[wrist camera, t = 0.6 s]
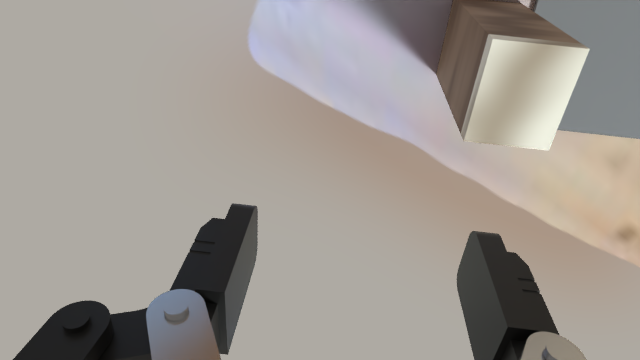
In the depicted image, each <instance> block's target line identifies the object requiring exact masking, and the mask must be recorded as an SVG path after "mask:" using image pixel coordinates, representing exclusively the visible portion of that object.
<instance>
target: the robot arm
mask: <svg viewBox="0 0 640 360" xmlns="http://www.w3.org/2000/svg"><path fill="white" fill-rule="evenodd" d="M257 213H258V212H257V206H251V205H242V204H232V205H231V207H230V209H229V211H228V214H227V216H226V218H225V219H218V218H212V219H211V220H210V221H209V222H207V223H206V224H205V225H204V226H202V227H201V228H200V230H199V232H198V234H197V236H196V239H195V242H194V243H193V245H192V247H191V249H190V252H189V253H188V255H187V257H186V259H185V261H184V263H183V265H182V267H181V269H180V271H179V273H178V275H177V277H176V279H175V281H174V283H173V285H172V287H171V289H170V291H168V292H165V293H163V294H161V295H160V296H158V297H157V298H155V299H154V300H153V301H152V302H151V303H150V305H149V307H148V308H145V309H142V310H137V311H132V312H124V313H118V314H111V315H110V313H109V310H108V309H107V307H106V306H105V305H103V304H101V303H99V302H96V301H80V302H76V303H72V304H69V305H67V306H65V307H63V308H61V309H60V310H58V311H57V312H56V313H54V314H53V315H52V316H51V317H50V318H49V319H48V321H47V322H46V323H45V324H44V325H43V326H42V328H41V329H40V330H39V331H38V332H37V333H36V334H35V335H34V336H33V337H32V339H31V340H30V341H29V342H28V343H27V344H26V345H25V347H24V348H23V349H22V350H21V351H20V352H19V353H18V354H17V356H16V357H15V358H14V359H13V360H221V358H220V354H228V352H229V349H230V346H231V342H232V339H233V335H234V332H235V329H236V326H237V322H238V319H239V315H240V312H241V309H242V305H243V302H244V299H245V295H246V292H247V288H248V285H249V282H250V278H251V275H252V272H253V268H254V265H255V261H256V255H257V220H258V219H257V217H258V216H257ZM457 288H458V293H459V297H460V302H461V306H462V310H463V314H464V318H465V322H466V326H467V331H468V335H469V339H470V343H471V347H472V351H473V356H474V359H475V360H586V358H585V356H584V354H583V353H582V352H581V351H580V349H579V348H578V347H576V346H575V345H574V344H573V343H572V342H570V341H569V340H567V339H566V338H564V337H562V336H560V335H559V333H558V331H557V329H556V326H555V324H554V322H553V320H552V317H551V315H550V313H549V311H548V309H547V306H546V304H545V302H544V300H543V297H542V295H541V294H539V292H540V291H539V289H538V286H537V284H536V283H535V282H534V278H533V275H532V273H531V271H530V269H529V266H528V265H527V264H526V263H525V262H524V261H523V260H522V259H521V258H520V257H519V256H518V255H517V254H516V253H512V252H507V251H506V249H505V246H504V244H503V241H502V238H501V236H500V235H499V234H495V233H486V232H477V231H472V232H471V234H470V236H469V238H468V242H467V244H466V248H465V250H464V253H463V256H462V259H461V262H460V265H459V269H458V273H457Z"/></svg>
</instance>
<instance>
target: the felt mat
mask: <svg viewBox="0 0 640 360" xmlns="http://www.w3.org/2000/svg"><path fill="white" fill-rule="evenodd" d="M533 12H535V13H536V14H538V15H539V16H541V17H542V18H544V19H545V20H547V21H548V22H550V23H551V24H553V25H554V26H556V27H557V28H559V29H560V30H562V31H563V32H565V33H566V34H568V35H569V36H571V37H572V38H574V39H575V40H577V41H578V42H580V43H581V44H583V45H584V46H586V47H587V48H589V49H590V50H589V52H588V55H587V57H586V60H585V62H584V65H583V67H582V70H581V72H580V75H579V77H578V80H577V82H576V85H575V87H574V89H573V92H572V94H571V97H570V99H569V102H568V104H567V107H566V109H565V112H564V114H563V117H562V119H561V122H560V124H559V126H558V129H557V130H563V131H572V132H581V133H590V134H599V135H609V136H618V137H627V138H636V139H640V0H536V3H535V6H534V9H533Z"/></svg>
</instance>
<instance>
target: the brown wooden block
mask: <svg viewBox="0 0 640 360" xmlns="http://www.w3.org/2000/svg"><path fill="white" fill-rule="evenodd" d="M589 50H590V49H589V48H587V47H586V46H584V45H583V44H581V43H580V42H578V41H577V40H575V39H574V38H572V37H571V36H569V35H568V34H566V33H565V32H563V31H562V30H560V29H559V28H557V27H556V26H554V25H553V24H551V23H550V22H548V21H547V20H545V19H544V18H542V17H541V16H539V15H538V14H536V13H535V12H533V11H532V10H530V9H529V8H527V7H526V6H524V5H523V4H521V3H512V2H503V1H493V0H453V3H452V7H451V11H450V16H449V20H448V24H447V29H446V33H445V38H444V42H443V46H442V51H441V55H440V60H439V64H438V68H437V73H436V75H437V77H438V80H439V82H440V85H441V87H442V90H443V92H444V94H445V97H446V99H447V102H448V104H449V107H450V109H451V111H452V114H453V116H454V119H455V121H456V124H457V126H458V128H459V131H460V133H461V136H462V138H463V141H467V142H476V143H485V144H494V145H503V146H512V147H521V148H530V149H539V150H548V151H549V149H550V146H551V144H552V141H553V139H554V136H555V134H556V131H557V129H558V126H559V124H560V122H561V119H562V117H563V114H564V112H565V109H566V107H567V104H568V102H569V99H570V97H571V94H572V92H573V89H574V87H575V85H576V82H577V80H578V77H579V75H580V72H581V70H582V67H583V65H584V62H585V60H586V57H587V55H588V52H589Z"/></svg>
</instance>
